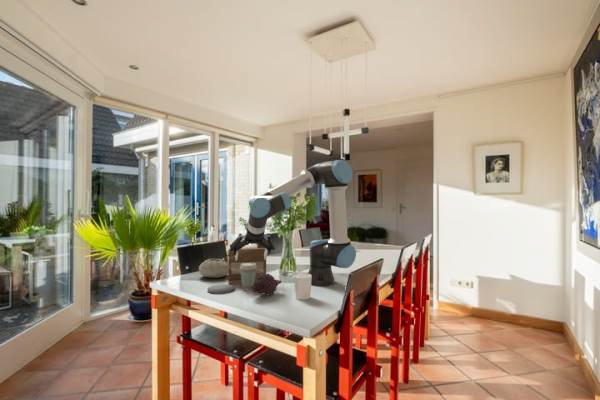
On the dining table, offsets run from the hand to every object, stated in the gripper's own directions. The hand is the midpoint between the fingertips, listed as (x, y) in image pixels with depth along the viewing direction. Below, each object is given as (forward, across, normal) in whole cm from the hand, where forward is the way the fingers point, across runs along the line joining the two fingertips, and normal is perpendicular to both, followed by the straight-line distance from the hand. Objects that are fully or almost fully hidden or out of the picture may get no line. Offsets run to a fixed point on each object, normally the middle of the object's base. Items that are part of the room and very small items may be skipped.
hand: (250, 257), depth 141 cm
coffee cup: (+19, 0, -5) cm, 20 cm away
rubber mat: (+19, -13, -5) cm, 24 cm away
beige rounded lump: (+39, -15, +14) cm, 44 cm away
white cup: (+4, +23, -20) cm, 31 cm away
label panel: (+27, +1, +3) cm, 27 cm away
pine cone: (+9, +7, -15) cm, 19 cm away
